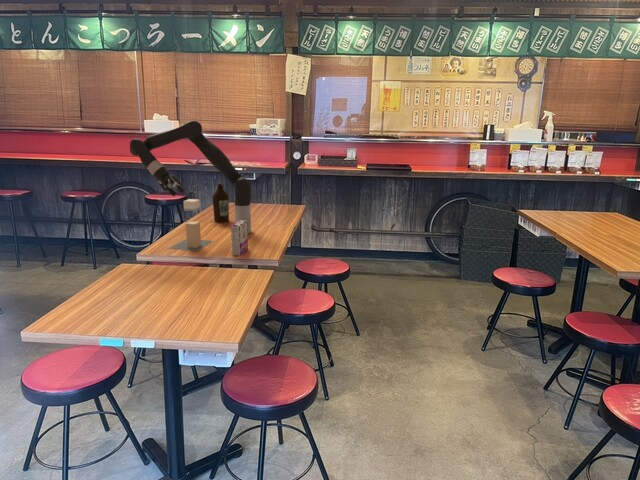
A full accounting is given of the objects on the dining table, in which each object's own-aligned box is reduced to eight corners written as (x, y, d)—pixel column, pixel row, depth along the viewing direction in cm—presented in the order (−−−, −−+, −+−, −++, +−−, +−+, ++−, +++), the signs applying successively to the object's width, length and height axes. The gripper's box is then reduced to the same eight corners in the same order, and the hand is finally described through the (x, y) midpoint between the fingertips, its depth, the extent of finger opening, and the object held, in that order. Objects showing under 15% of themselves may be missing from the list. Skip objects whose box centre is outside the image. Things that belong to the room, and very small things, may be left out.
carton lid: (189, 208, 261) (189, 198, 260) (200, 208, 260) (199, 199, 259) (183, 210, 256) (183, 201, 254) (194, 211, 254) (194, 201, 253)
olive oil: (210, 220, 323) (208, 183, 316) (224, 218, 330) (222, 181, 323) (219, 223, 315) (217, 185, 308) (233, 221, 322) (231, 183, 315)
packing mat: (186, 240, 277) (186, 238, 277) (214, 242, 273) (214, 241, 273) (168, 250, 259) (168, 248, 258) (197, 253, 255) (197, 251, 255)
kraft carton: (192, 244, 267) (190, 221, 263) (201, 245, 265) (199, 221, 262) (187, 247, 261) (185, 223, 258) (196, 247, 260) (195, 224, 257)
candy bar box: (239, 249, 262) (238, 219, 258) (248, 250, 261) (247, 220, 257) (231, 255, 252) (230, 224, 247) (240, 256, 251) (239, 225, 246)
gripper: (154, 167, 248) (176, 191, 249) (169, 164, 262) (190, 186, 262) (146, 177, 251) (167, 200, 252) (161, 173, 264) (181, 195, 265)
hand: (179, 193), depth 257 cm, fingers open, 8 cm apart
